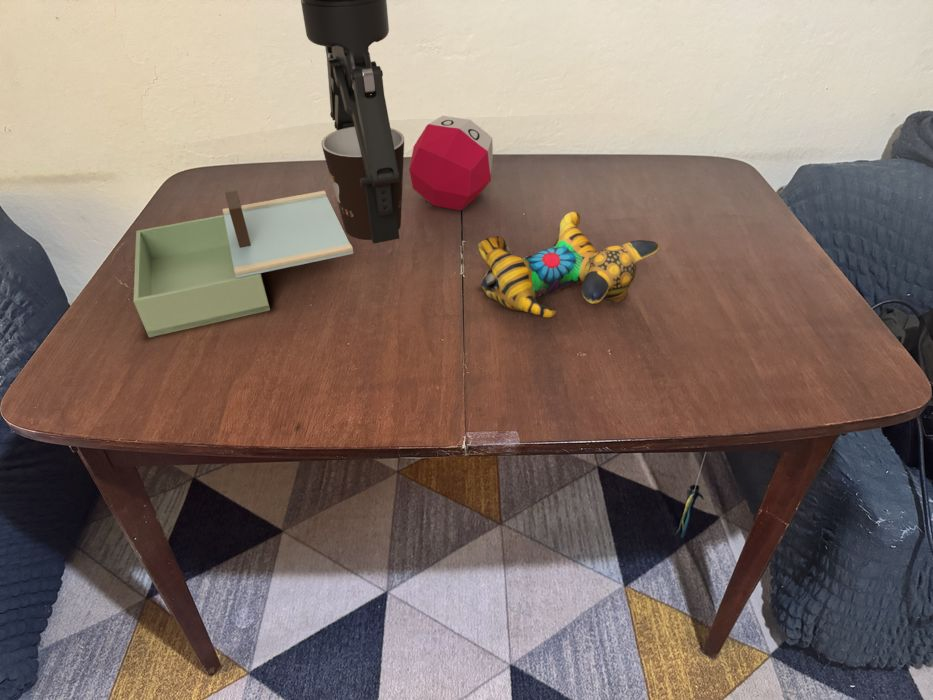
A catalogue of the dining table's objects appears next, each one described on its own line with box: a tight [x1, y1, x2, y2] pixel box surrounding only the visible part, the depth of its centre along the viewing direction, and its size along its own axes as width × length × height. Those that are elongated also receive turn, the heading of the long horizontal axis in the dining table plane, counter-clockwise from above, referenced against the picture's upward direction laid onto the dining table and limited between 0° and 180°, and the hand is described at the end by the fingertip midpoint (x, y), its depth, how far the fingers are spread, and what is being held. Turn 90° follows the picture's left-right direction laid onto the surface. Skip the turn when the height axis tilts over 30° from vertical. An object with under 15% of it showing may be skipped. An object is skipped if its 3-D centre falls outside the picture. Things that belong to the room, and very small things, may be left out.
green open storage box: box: [133, 214, 271, 338], centre depth 94 cm, size 16×20×6 cm
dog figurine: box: [477, 211, 660, 319], centre depth 89 cm, size 20×12×18 cm
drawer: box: [222, 190, 354, 278], centre depth 94 cm, size 16×20×7 cm
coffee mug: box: [320, 126, 405, 241], centre depth 69 cm, size 12×9×10 cm
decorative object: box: [408, 115, 494, 211], centre depth 112 cm, size 15×15×15 cm
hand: (370, 212), depth 70 cm, fingers closed on coffee mug, 12 cm apart
